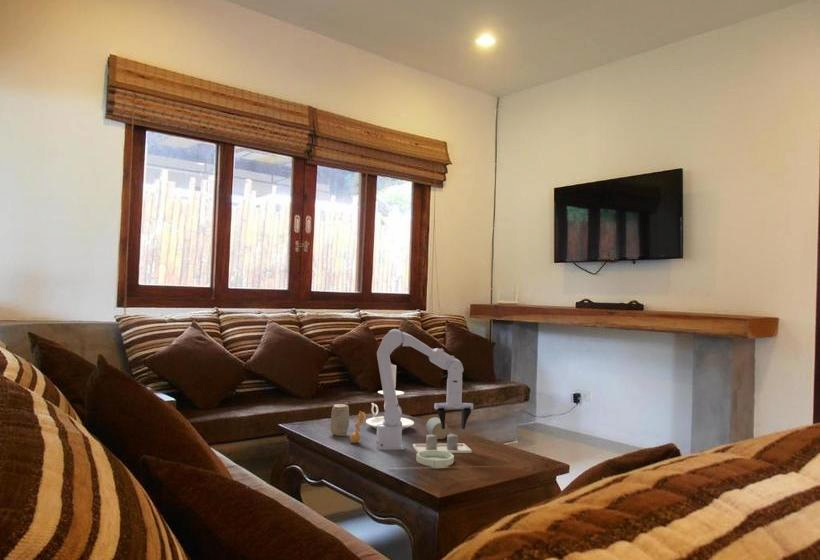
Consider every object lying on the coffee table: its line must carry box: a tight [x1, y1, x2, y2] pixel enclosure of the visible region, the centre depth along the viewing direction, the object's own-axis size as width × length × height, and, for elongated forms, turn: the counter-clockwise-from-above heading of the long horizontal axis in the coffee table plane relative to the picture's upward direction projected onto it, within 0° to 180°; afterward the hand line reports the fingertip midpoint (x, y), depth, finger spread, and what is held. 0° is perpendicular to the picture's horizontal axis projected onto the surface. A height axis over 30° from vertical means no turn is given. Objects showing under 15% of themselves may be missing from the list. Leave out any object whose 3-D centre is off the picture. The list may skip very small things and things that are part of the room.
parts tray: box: [412, 442, 473, 454], centre depth 212 cm, size 20×10×1 cm, turn 101°
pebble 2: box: [446, 433, 459, 450], centre depth 213 cm, size 4×4×5 cm
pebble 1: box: [425, 434, 438, 450], centre depth 211 cm, size 4×4×5 cm
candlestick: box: [365, 364, 415, 431], centre depth 245 cm, size 21×25×28 cm
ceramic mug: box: [425, 416, 453, 440], centre depth 231 cm, size 11×8×8 cm
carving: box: [330, 403, 350, 437], centre depth 230 cm, size 6×8×12 cm
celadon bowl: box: [415, 450, 455, 469], centre depth 197 cm, size 13×13×3 cm
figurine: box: [349, 410, 368, 444], centre depth 219 cm, size 8×6×12 cm
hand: (453, 428), depth 213 cm, fingers open, 7 cm apart
